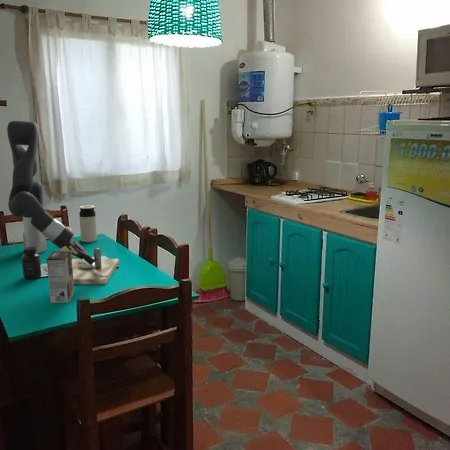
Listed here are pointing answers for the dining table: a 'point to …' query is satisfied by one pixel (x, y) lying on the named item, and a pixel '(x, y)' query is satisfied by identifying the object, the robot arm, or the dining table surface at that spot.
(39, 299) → the dining table surface
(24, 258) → the supplement bottle
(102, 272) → the wooden cutting board
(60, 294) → the coffee box
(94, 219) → the travel mug
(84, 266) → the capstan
